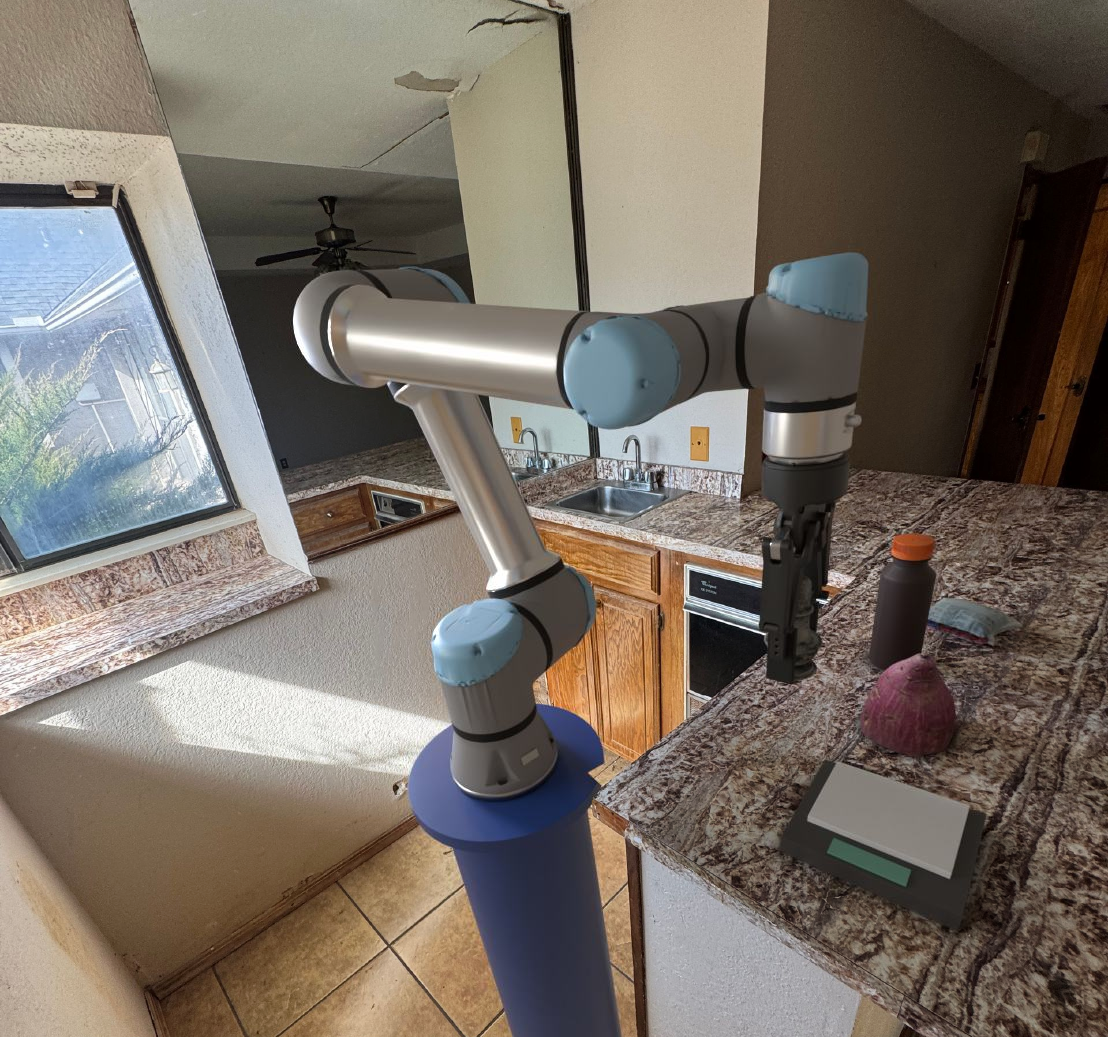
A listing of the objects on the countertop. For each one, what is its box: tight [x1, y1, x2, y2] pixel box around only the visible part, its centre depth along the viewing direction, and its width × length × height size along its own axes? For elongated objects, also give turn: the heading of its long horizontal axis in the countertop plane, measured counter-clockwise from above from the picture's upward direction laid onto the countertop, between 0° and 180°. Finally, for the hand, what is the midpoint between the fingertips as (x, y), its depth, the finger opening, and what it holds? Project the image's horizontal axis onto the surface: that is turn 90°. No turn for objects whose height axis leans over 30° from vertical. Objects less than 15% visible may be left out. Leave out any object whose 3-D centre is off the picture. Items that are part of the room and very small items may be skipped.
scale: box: [779, 759, 988, 932], centre depth 60 cm, size 16×14×3 cm
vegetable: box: [860, 652, 957, 757], centre depth 70 cm, size 10×10×15 cm
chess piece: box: [763, 575, 824, 681], centre depth 61 cm, size 6×6×12 cm
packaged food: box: [926, 596, 1023, 646], centre depth 91 cm, size 9×12×5 cm
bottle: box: [868, 532, 937, 671], centre depth 83 cm, size 7×7×20 cm
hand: (791, 664), depth 63 cm, fingers closed on chess piece, 6 cm apart
